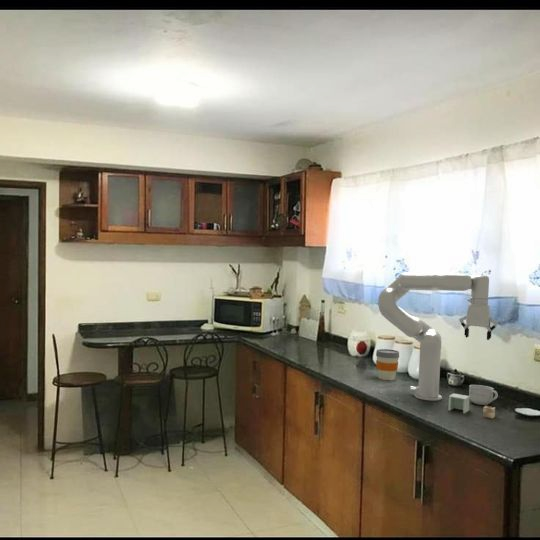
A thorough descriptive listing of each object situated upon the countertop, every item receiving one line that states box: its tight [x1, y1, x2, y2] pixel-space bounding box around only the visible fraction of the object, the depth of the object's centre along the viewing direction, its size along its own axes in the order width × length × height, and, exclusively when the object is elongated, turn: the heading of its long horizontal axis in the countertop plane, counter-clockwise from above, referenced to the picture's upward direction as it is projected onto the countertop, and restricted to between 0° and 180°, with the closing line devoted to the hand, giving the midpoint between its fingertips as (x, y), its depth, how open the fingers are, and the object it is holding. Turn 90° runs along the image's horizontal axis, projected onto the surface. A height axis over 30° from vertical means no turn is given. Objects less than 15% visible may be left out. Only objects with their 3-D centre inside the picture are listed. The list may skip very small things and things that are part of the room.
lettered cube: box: [482, 405, 496, 419], centre depth 246 cm, size 4×4×4 cm
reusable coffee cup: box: [375, 348, 400, 381], centre depth 315 cm, size 13×13×15 cm
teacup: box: [468, 384, 499, 406], centre depth 267 cm, size 14×11×8 cm
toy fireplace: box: [448, 393, 470, 414], centre depth 254 cm, size 7×6×6 cm
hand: (477, 338), depth 268 cm, fingers open, 9 cm apart
